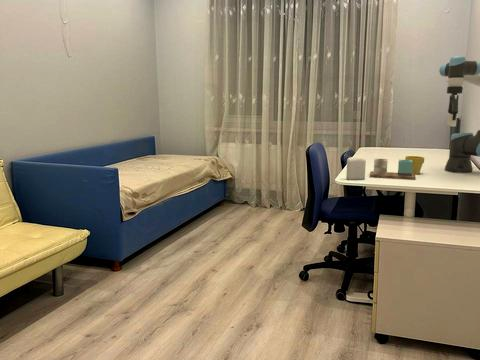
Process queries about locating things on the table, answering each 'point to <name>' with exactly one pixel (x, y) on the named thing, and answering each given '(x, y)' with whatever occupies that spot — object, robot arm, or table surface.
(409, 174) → the teal sleeve
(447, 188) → the table surface
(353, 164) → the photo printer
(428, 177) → the table surface
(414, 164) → the plant pot
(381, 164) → the peg board
